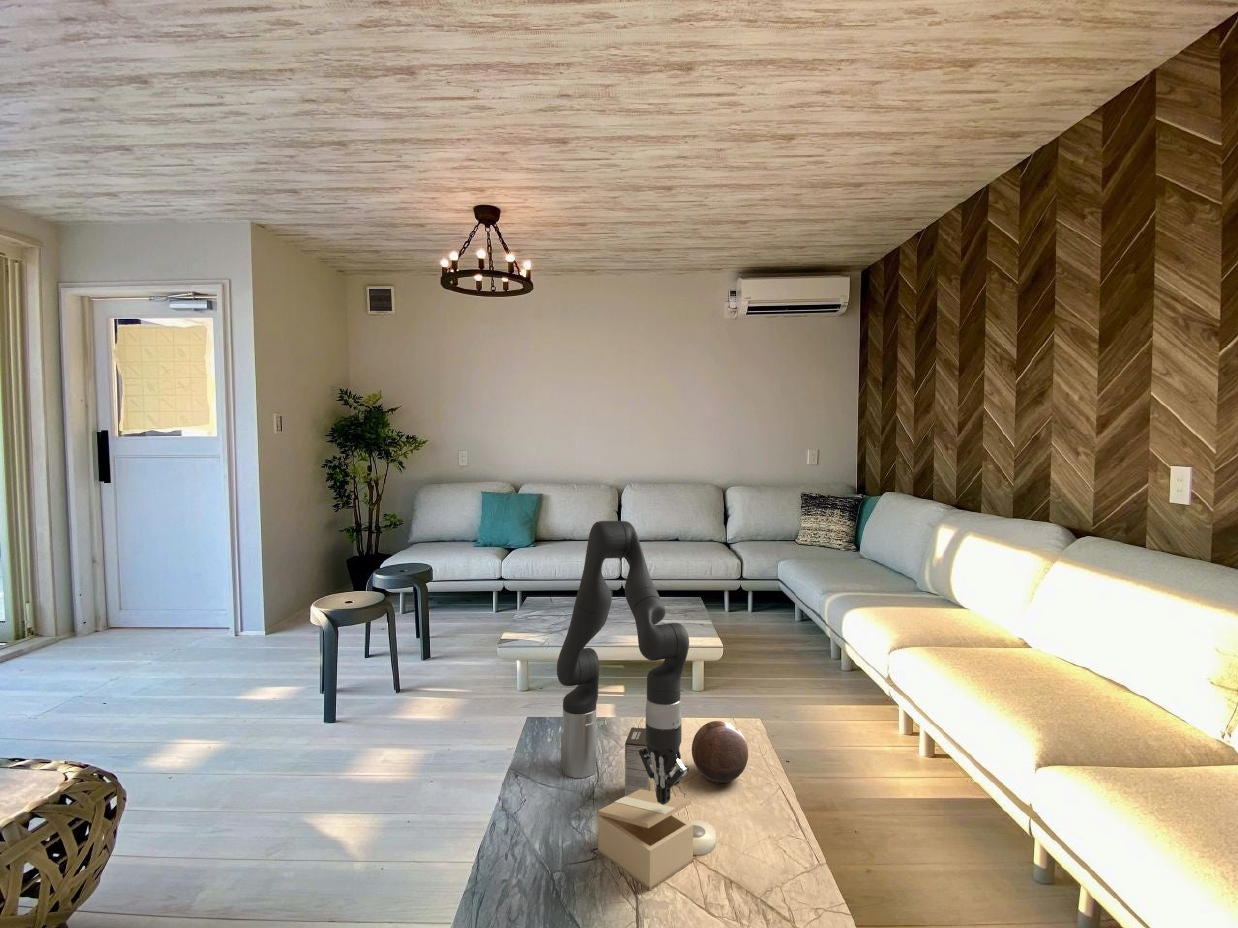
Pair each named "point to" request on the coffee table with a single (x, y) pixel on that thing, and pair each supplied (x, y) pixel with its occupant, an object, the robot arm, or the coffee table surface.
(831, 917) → the coffee table surface
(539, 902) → the coffee table surface
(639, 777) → the coffee box
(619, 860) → the box
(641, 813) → the lid
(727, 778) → the wooden sphere
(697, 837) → the cream domed button
